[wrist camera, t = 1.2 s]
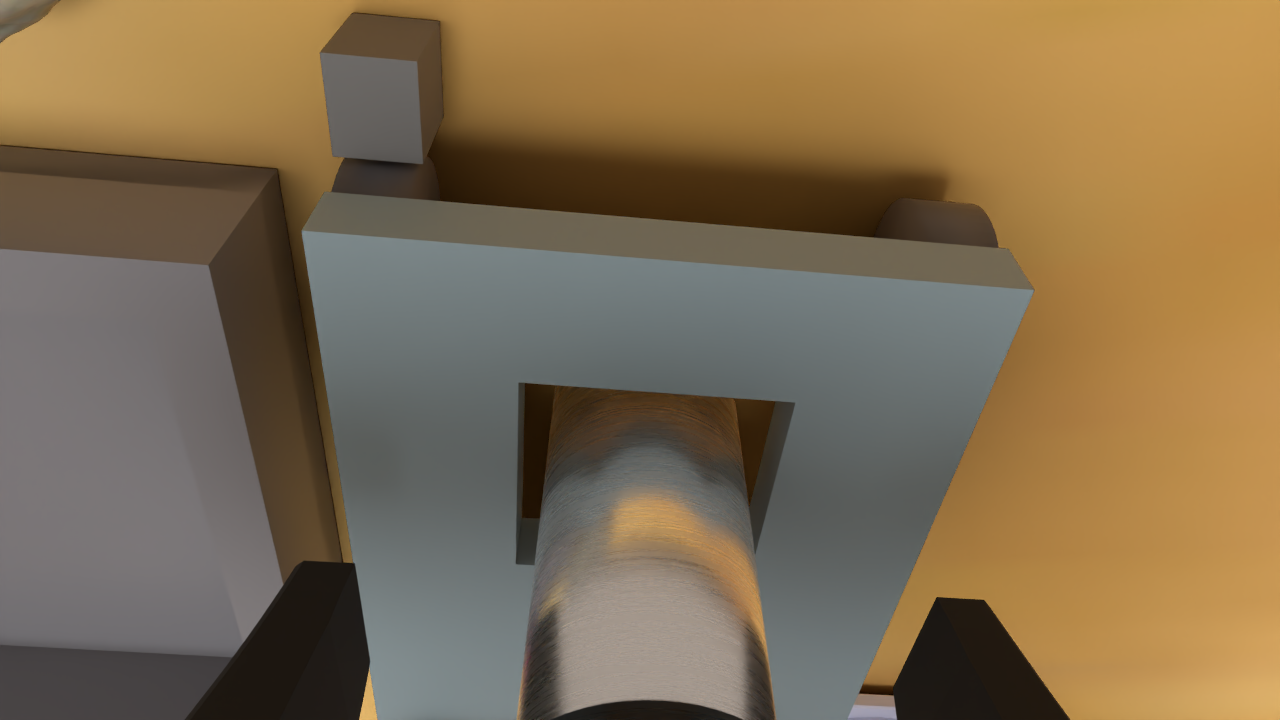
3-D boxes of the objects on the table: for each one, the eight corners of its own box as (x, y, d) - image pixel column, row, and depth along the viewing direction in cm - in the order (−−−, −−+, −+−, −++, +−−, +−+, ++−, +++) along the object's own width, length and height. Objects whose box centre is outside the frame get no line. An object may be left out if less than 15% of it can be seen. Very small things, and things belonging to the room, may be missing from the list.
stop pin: (716, 421, 17) (771, 960, 10) (554, 409, 17) (492, 948, 10) (743, 285, 15) (835, 830, 8) (560, 270, 15) (490, 815, 8)
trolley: (800, 633, 21) (856, 974, 16) (411, 610, 21) (328, 956, 15) (989, 73, 13) (1251, 379, 7) (352, 12, 12) (122, 293, 7)
